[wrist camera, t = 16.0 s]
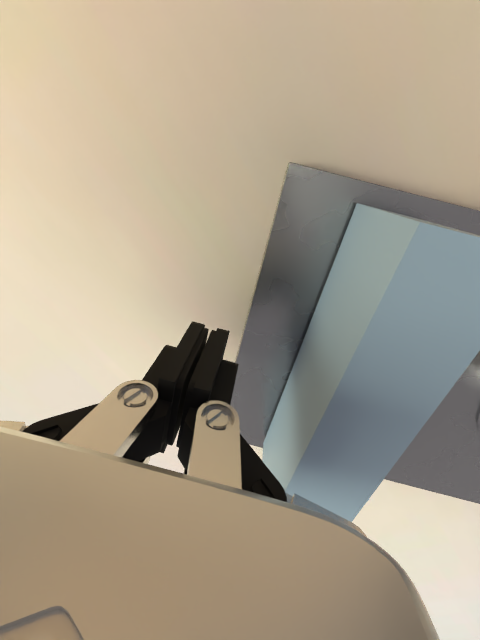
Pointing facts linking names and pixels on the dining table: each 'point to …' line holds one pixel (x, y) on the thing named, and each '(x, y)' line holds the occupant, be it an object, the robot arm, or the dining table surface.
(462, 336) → the bar
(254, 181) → the dining table surface
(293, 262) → the vise base
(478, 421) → the beer glass
